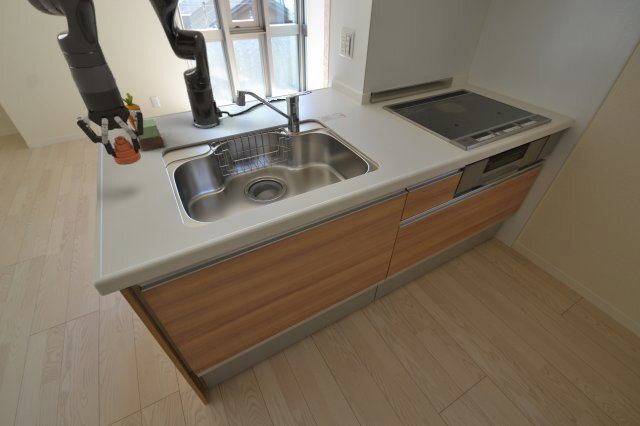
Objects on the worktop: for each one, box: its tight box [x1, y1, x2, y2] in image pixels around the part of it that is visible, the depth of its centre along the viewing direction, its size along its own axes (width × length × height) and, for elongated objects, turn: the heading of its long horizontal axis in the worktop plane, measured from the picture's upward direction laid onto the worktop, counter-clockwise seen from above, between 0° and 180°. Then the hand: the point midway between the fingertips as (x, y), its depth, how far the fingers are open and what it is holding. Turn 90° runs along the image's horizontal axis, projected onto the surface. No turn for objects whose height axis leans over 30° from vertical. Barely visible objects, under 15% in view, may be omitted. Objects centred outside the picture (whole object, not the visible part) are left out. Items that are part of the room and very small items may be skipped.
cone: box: [112, 135, 142, 166], centre depth 76 cm, size 6×6×6 cm
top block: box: [134, 118, 160, 140], centre depth 101 cm, size 6×6×4 cm
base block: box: [137, 128, 165, 152], centre depth 104 cm, size 7×7×4 cm
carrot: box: [122, 92, 141, 130], centre depth 106 cm, size 5×5×15 cm
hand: (125, 152), depth 77 cm, fingers closed on cone, 4 cm apart
